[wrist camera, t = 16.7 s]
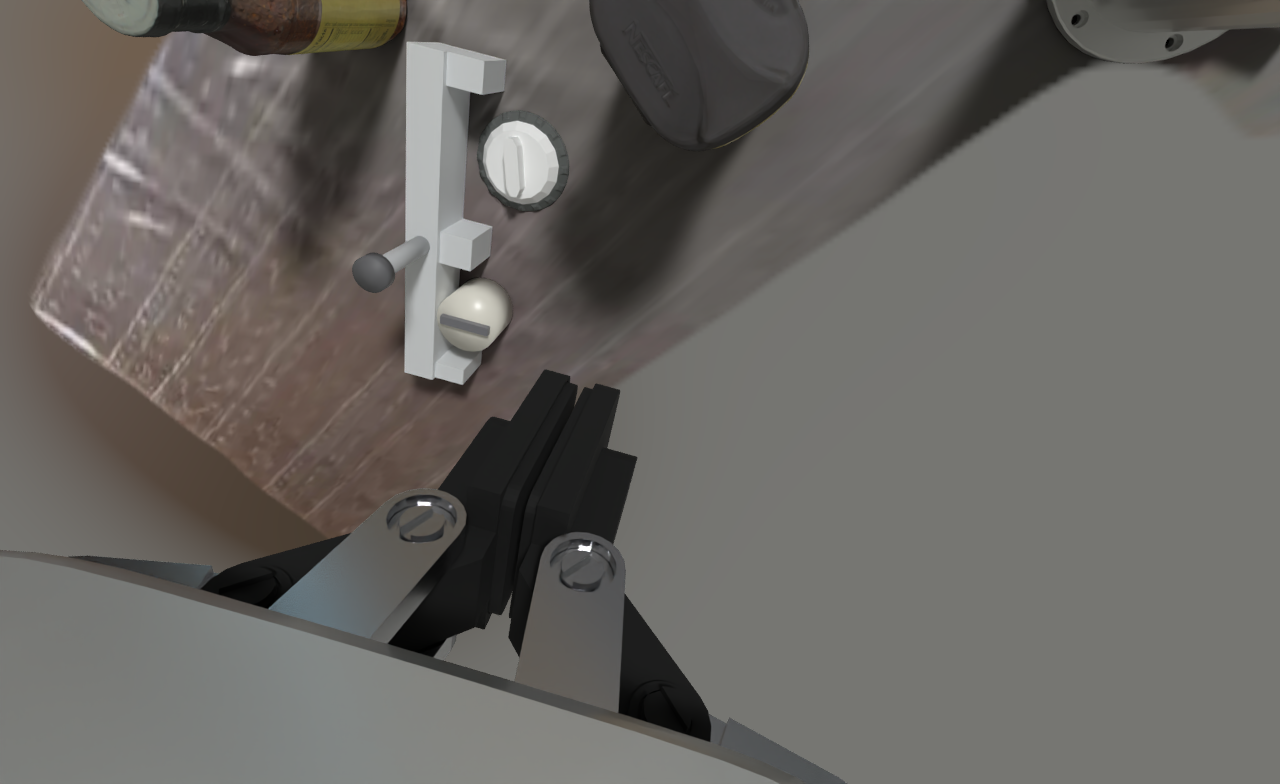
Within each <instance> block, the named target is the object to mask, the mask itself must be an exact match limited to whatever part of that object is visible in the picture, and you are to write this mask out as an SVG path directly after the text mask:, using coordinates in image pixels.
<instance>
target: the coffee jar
mask: <svg viewBox="0 0 1280 784" xmlns="http://www.w3.org/2000/svg"><path fill="white" fill-rule="evenodd" d="M589 2H590V15H591V20H592V24H593V27H594V31H595V33H596V36H597V38H598V40H599V42H600V48H601V52H602V54H603V56H604V57H605V59H606V60H607V62H608V63H609V65H610V66H611V68H612V69H613V71H614V72H615V74H616V76H617V77H618V79H619V80H620V82H621V84H622V85H623V87H624V88H625V90H626V91H627V93H628V94H629V96H630V98H631V99H632V101H633V103H634V104H635V106H636V108H637V109H638V111H639V112H640V114H641V116H642V117H643V119H644V121H645V122H646V123H647V124H649V125H650V126H652V127H653V128H654V129H655V130H656V131H657V133H658V134H659V135H660V136H661V137H663V138H664V139H665V140H667V141H668V142H670V143H671V144H673V145H675V146H677V147H680V148H683V149H686V150H691V151H704V150H709V149H715V148H719V147H722V146H724V145H727V144H729V143H731V142H733V141H735V140H737V139H739V138H740V137H742V136H744V135H745V134H747V133H748V132H750V131H751V130H753V129H754V128H756V127H758V126H759V125H760V124H762V123H763V122H765V121H766V120H767V119H769V118H770V117H771V116H772V115H774V114H775V113H776V112H777V111H778V110H779V109H780V108H782V107H783V106H784V105H785V104H786V103H787V102H788V101H789V99H790V98H791V97H792V96H793V95H794V93H795V92H796V90H797V89H798V87H799V85H800V83H801V81H802V79H803V77H804V74H805V71H806V68H807V64H808V57H809V35H808V27H807V23H806V20H805V16H804V13H803V10H802V8H801V6H800V4H799V1H798V0H589Z"/></svg>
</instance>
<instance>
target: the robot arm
mask: <svg viewBox="0 0 1280 784" xmlns="http://www.w3.org/2000/svg"><path fill="white" fill-rule="evenodd" d="M1046 1H1047V6H1048V10H1049V12H1050V14H1051V16H1052V18H1053V21H1054V23H1055V25H1056V27H1057V29H1058V30H1059V31H1060V32H1061V33H1062V35H1063V36H1064V37H1065V38H1066V40H1067V41H1068V42H1069V43H1070V44H1072V45H1073V46H1075V47H1076V48H1077V49H1079V50H1080V51H1082V52H1083V53H1084V54H1087V55H1090V56H1092V57H1095V58H1098V59H1100V60H1103V61H1110V62H1118V63H1147V62H1154V61H1160V60H1166V59H1169V58H1172V57H1175V56H1178V55H1181V54H1184V53H1187V52H1190V51H1192V50H1194V49H1196V48H1198V47H1200V46H1202V45H1204V44H1206V43H1208V42H1210V41H1212V40H1214V39H1216V38H1218V37H1219V36H1221V35H1222V34H1224V33H1225V32H1227V31H1228V30H1230V29H1250V28H1274V27H1280V0H1046ZM1074 15H1076V16H1077V21H1076V23H1075V24H1073V25H1072V24H1071V20H1072V17H1073V16H1074ZM1168 39H1169V44H1168V45H1167V46H1166V47H1165V44H1166V41H1167V40H1168ZM577 388H578V386H577V385H575V384H572V383H570V376H568V375H564V374H560V373H557V372H553V371H550V370H544V371H543V372H542V374H541V376H540V377H539V379H538V380H537V382H536V383H535V385H534V386H533V388H532V389H531V391H530V392H529V394H528V395H527V397H526V398H525V400H524V401H523V403H522V404H521V406H520V407H519V409H518V410H517V412H516V414H515V415H514V417H513V418H512V420H511V421H507V420H504V419H500V418H497V417H491V418H490V419H489V420H488V421H487V422H486V423H485V425H484V426H483V428H482V429H481V430H480V432H479V433H478V434H477V436H476V437H475V439H474V440H473V441H472V443H471V444H470V446H469V447H468V448H467V450H466V451H465V453H464V454H463V455H462V457H461V458H460V459H459V461H458V462H457V464H456V465H455V466H454V468H453V469H452V471H451V472H450V473H449V475H448V476H447V478H446V479H445V480H444V482H443V483H442V484H441V486H440V487H439V489H438V490H436V489H423V488H422V489H415V490H408V491H406V492H403V493H400V494H398V495H395V496H394V497H393V498H391V499H390V500H388V501H387V502H385V503H384V504H383V505H382V506H381V507H380V508H379V509H378V510H377V511H375V512H374V513H373V514H372V515H371V516H370V517H369V518H368V519H367V520H365V521H364V522H363V523H362V524H361V525H360V526H359V527H358V528H357V529H356V530H354V531H353V532H352V533H349V534H346V535H342V536H339V537H335V538H331V539H328V540H324V541H320V542H317V543H313V544H310V545H306V546H302V547H299V548H295V549H292V550H288V551H285V552H281V553H278V554H273V555H270V556H266V557H263V558H259V559H255V560H252V561H248V562H244V563H241V564H239V565H236V566H233V567H231V568H228V569H226V570H224V571H223V572H221V573H214V572H213V568H212V566H211V565H197V564H185V563H173V562H160V561H148V560H136V559H123V558H111V557H99V556H69V557H64V556H57V555H50V554H43V553H36V552H22V551H21V552H20V551H6V550H0V784H847V783H845V782H844V781H843V780H841V779H840V778H839V777H837V776H835V775H833V774H831V773H829V772H828V771H826V770H824V769H822V768H820V767H819V766H817V765H815V764H813V763H811V762H809V761H808V760H806V759H804V758H802V757H800V756H798V755H797V754H795V753H793V752H791V751H789V750H787V749H786V748H784V747H782V746H780V745H778V744H777V743H774V742H773V741H771V740H769V739H767V738H766V737H764V736H762V735H760V734H758V733H756V732H755V731H753V730H751V729H749V728H747V727H745V726H744V725H742V724H740V723H738V722H736V721H734V720H733V719H731V718H729V720H728V722H727V723H724V722H722V721H721V720H719V719H717V718H715V717H713V716H712V715H710V714H708V710H707V708H706V707H705V705H704V703H703V701H702V699H701V698H700V696H699V695H698V693H697V692H696V691H695V689H694V688H693V686H692V685H691V684H690V682H689V681H688V680H687V678H686V677H685V675H684V674H683V673H682V671H681V670H680V669H679V667H678V666H677V664H676V663H675V662H674V660H673V659H672V658H671V656H670V655H669V654H668V652H667V651H666V649H665V648H664V647H663V645H662V644H661V643H660V641H659V640H658V638H657V637H656V636H655V634H654V633H653V632H652V630H651V629H650V628H649V626H648V625H647V623H646V622H645V621H644V619H643V618H642V617H641V615H640V614H639V612H638V611H637V610H636V608H635V607H634V606H633V604H632V603H631V601H630V600H629V599H628V597H627V596H626V595H625V593H624V592H625V575H626V574H625V573H626V570H625V563H624V559H623V557H622V556H621V554H620V552H619V550H618V549H617V548H616V547H615V546H614V545H613V543H614V540H615V536H616V533H617V529H618V526H619V522H620V518H621V515H622V512H623V508H624V504H625V501H626V497H627V494H628V490H629V486H630V483H631V479H632V476H633V472H634V468H635V464H636V461H637V457H636V456H632V455H628V454H625V453H621V452H618V451H614V450H611V449H607V447H608V442H609V438H610V434H611V430H612V425H613V421H614V417H615V412H616V408H617V404H618V399H619V395H620V390H618V389H614V388H611V387H607V386H604V385H600V384H595V386H594V388H593V389H590V388H586V387H584V389H583V391H582V393H581V395H580V397H579V399H578V401H577V403H576V405H575V400H576V394H577ZM574 405H575V407H574ZM512 591H513V592H512ZM511 593H512V599H511V605H510V613H509V618H511V624H510V631H509V639H510V641H511V643H512V645H513V647H514V648H515V650H516V652H517V654H518V656H519V662H518V667H517V672H516V677H515V681H514V682H513V681H510V680H507V679H503V678H500V677H497V676H494V675H490V674H487V673H483V672H480V671H477V670H473V669H470V668H467V667H463V666H459V665H456V664H453V663H450V662H446V661H444V659H445V658H446V657H447V655H448V654H449V652H450V651H451V649H452V647H453V645H454V643H455V641H456V635H457V634H460V633H462V632H464V631H467V630H469V629H472V628H474V627H477V628H481V629H485V627H486V625H487V623H488V621H489V619H490V616H491V614H492V613H494V614H498V615H501V614H502V613H503V611H504V609H505V607H506V605H507V602H508V600H509V598H510V596H511Z"/></svg>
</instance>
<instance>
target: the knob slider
mask: <svg viewBox="0 0 1280 784" xmlns="http://www.w3.org/2000/svg"><path fill="white" fill-rule="evenodd" d="M512 316H513V304H512V301H511V298H510V296H509V295H508V293H507V292H506V290H505V289H504V288H503V287H502V286H501V285H499V284H498V283H496V282H495V281H493V280H490V279H487V278H474V279H471V280H469V281H467V282H466V283H464V284H463V285H462V286H461V287H460V288H458V289H457V290H456V291H455V292H453V293H452V294H451V295H450V296H448V297H447V298H446V299H445V300H443V302H442V303H441V304H440V306H439V308H438V311H437V322H438V326H439V328H440V331H441V332H442V334H443V336H444V337H445V338H446V339H447V340H448V341H449V342H450V343H451V344H452V345H454V346H456V347H457V348H459V349H462V350H465V351H471V352H476V351H481V350H483V349H485V348H487V347H488V346H489V345H490V344H491V343H492V342H493V341H494V340H495V339H496V338H497V337H498V335H499V334H500V333H501V332H502V331H503V330H504V329H505V328H506V327H507V325H508V324H509V323H510V321H511V319H512Z"/></svg>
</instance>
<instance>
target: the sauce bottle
mask: <svg viewBox="0 0 1280 784" xmlns="http://www.w3.org/2000/svg"><path fill="white" fill-rule="evenodd" d="M82 1H83V2H84V4H85V5H86V6H87V7H88V8H89V9H90V10H91V12H92V13H93V14H94V15H95V16H96V17H97V18H98V19H99V20H100V21H102V22H103V23H105V24H106V25H107V26H109V27H110V28H112V29H113V30H115V31H117V32H119V33H122V34H124V35H128V36H133V37H161V36H165V35H167V34H168V33H170V32H182V31H190V32H193V33H204V34H206V35H208V36H211V37H213V38H215V39H217V40H219V41H221V42H223V43H225V44H227V45H229V46H231V47H232V48H234V49H235V50H237V51H239V52H241V53H243V54H246V55H251V56H259V55H267V54H281V55H292V54H305V53H317V52H331V51H343V50H358V49H371V48H376V47H379V46H381V45H383V44H385V43H387V42H388V41H390V40H392V39H393V38H394V37H395V36H396V35H397V34H398V33H400V32H401V30H402V29H403V27H404V23H405V18H406V6H407V2H406V0H82Z"/></svg>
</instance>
